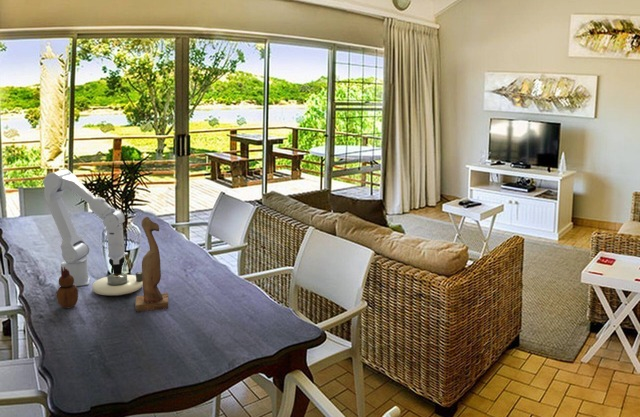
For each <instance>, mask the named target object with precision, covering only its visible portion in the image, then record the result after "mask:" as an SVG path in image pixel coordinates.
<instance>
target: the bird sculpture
mask: <svg viewBox="0 0 640 417" xmlns="http://www.w3.org/2000/svg"><path fill="white" fill-rule="evenodd" d="M141 227H142V229H143V231H144V233H145V237H146V238H147V243H148V248H149V250H148V251H147V252H146V253H145V255H144V256H143V257H142V260H141V272H142V281H143V286H142V292H143V294H142V295H136V297H135V298H136V299H135V304H134V305H135V311H136V312H135V313H137V312H138V313H140V312H146V311H148V312H149V311H157V310H158V311H160V310H168V309H169V292H166V293H164V292H163V293H161V291H160V289H159V287H158V285H159V283H160V282H161V278H162V271H161V270H162V269H161V256H160V249H159V246H158V243H157V240H156V239H155V236H154V234H153V232H154V231H156V232H160V226H159V224H158V223H157V222H154V221H153V220H152V219H150V217H149V216H145V217H143V219H142V220H141Z"/></svg>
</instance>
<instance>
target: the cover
mask: <svg viewBox="0 0 640 417" xmlns="http://www.w3.org/2000/svg"><path fill="white" fill-rule="evenodd" d="M127 275H128V274H127V273H124V272H122V273H115V274H114V273H112V274H109V275H107V276H106V277H107V279H108V285H110V286H120V285H124V284H126V283H127Z"/></svg>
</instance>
